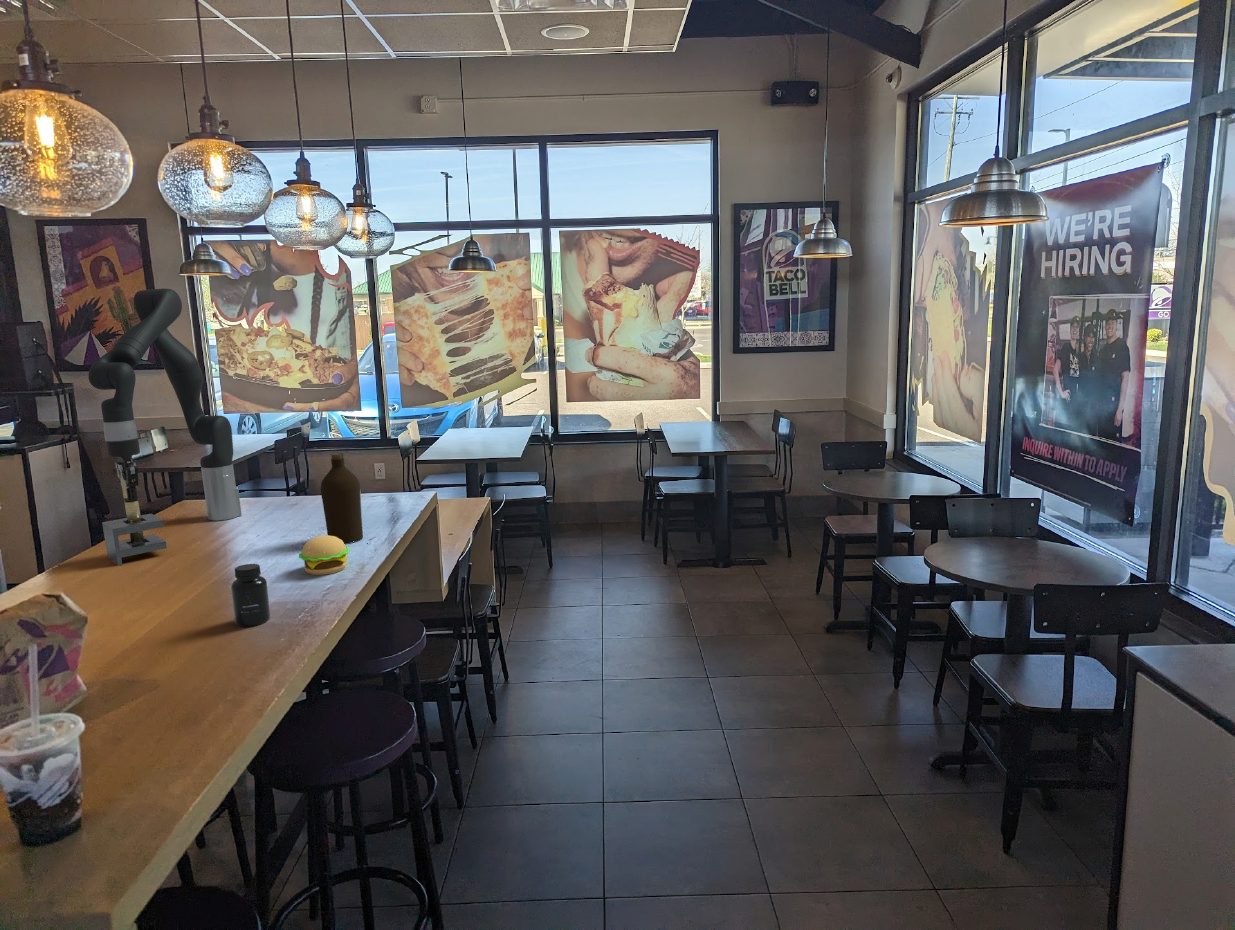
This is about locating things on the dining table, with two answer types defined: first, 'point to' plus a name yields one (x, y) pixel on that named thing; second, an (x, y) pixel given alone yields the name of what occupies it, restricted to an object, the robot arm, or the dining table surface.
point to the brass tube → (132, 515)
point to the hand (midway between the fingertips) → (131, 500)
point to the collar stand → (125, 547)
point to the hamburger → (324, 555)
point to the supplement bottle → (250, 596)
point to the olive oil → (342, 502)
